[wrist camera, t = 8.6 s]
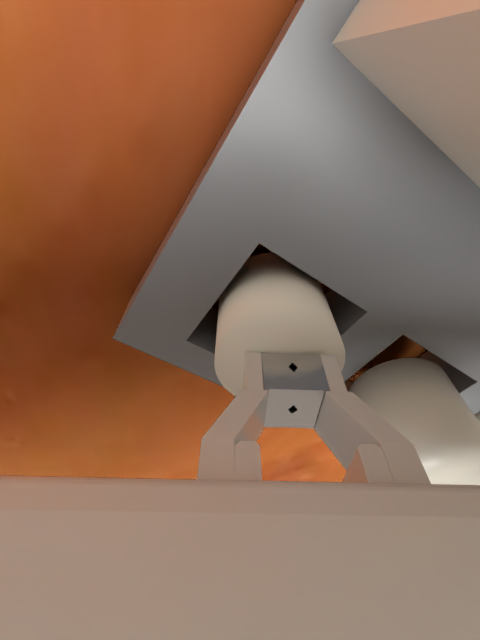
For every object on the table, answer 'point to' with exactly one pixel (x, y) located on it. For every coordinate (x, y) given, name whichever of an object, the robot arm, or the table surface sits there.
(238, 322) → the button left
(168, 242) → the console
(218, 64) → the table surface
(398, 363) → the button middle
